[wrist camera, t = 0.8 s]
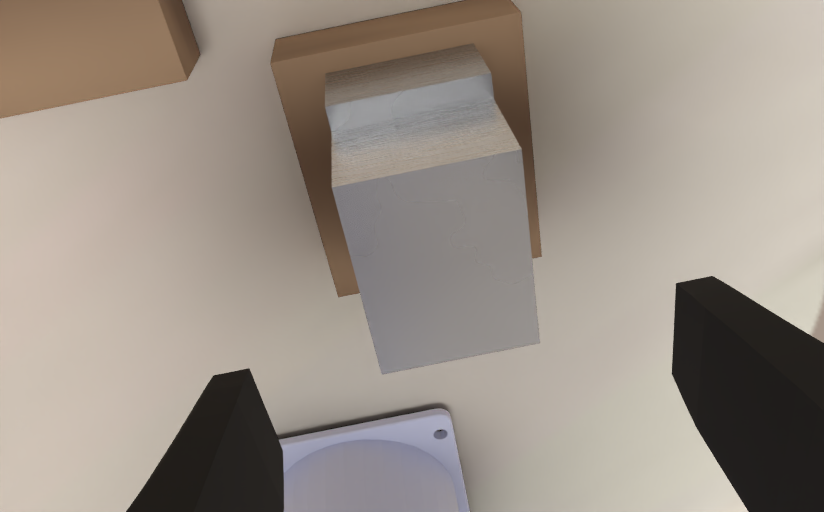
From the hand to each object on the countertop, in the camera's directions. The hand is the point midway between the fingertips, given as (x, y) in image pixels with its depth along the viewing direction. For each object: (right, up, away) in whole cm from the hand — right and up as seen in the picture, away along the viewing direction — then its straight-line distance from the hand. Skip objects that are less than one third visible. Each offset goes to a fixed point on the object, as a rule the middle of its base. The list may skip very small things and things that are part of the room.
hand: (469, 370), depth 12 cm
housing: (-1, +4, +6) cm, 8 cm away
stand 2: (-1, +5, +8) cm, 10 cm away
